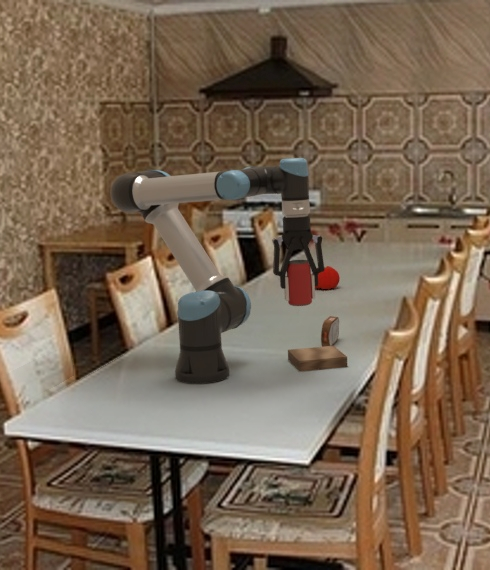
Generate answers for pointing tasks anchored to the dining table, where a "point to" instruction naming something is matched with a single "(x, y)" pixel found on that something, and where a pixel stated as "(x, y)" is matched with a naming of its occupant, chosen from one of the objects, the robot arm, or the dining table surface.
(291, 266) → the beer can
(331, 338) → the tin
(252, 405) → the dining table surface
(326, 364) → the podium
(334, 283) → the tomato
